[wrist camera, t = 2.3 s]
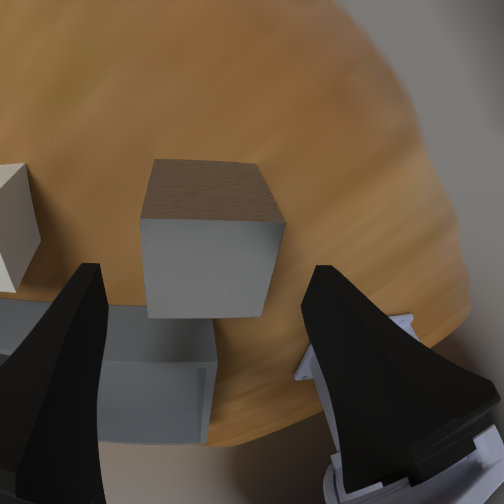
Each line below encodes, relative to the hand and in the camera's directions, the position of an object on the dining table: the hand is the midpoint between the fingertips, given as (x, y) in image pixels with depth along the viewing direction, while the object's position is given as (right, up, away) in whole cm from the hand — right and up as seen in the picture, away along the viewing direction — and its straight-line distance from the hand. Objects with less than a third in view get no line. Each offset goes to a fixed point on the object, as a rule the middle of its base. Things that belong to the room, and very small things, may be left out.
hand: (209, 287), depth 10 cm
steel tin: (-1, +3, +4) cm, 6 cm away
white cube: (-12, +4, +2) cm, 12 cm away
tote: (-10, -8, +11) cm, 17 cm away
